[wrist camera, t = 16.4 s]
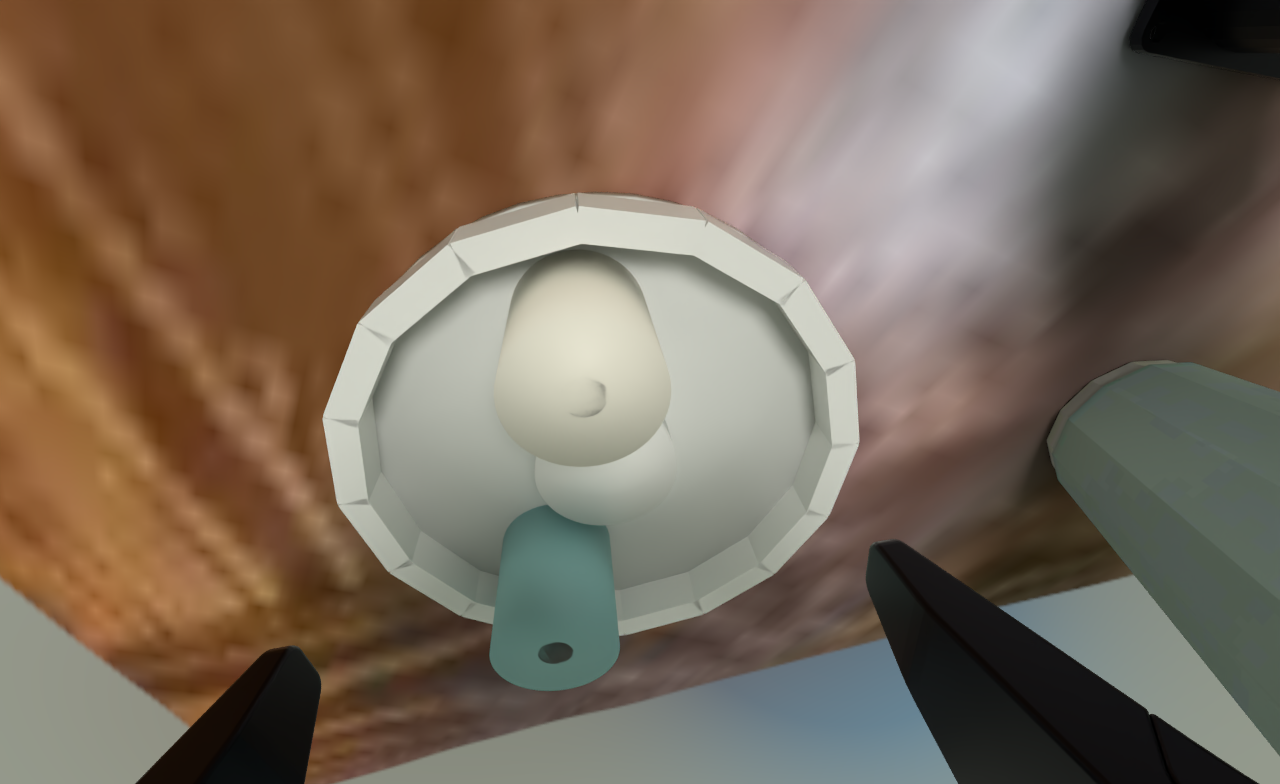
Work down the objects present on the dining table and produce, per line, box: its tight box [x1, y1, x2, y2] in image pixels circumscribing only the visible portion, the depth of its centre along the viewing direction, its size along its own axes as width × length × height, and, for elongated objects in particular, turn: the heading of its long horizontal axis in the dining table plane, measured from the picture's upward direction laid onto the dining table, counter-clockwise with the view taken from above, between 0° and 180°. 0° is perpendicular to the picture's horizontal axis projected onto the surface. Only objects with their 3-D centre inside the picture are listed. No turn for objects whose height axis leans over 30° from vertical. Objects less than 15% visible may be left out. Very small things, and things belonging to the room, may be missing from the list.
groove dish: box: [323, 192, 859, 636], centre depth 21 cm, size 18×18×2 cm
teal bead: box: [489, 505, 620, 691], centre depth 21 cm, size 4×4×5 cm
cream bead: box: [494, 250, 671, 467], centre depth 16 cm, size 4×4×5 cm
